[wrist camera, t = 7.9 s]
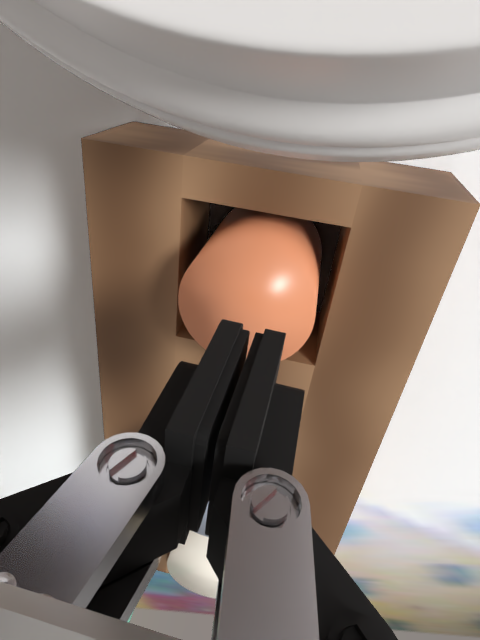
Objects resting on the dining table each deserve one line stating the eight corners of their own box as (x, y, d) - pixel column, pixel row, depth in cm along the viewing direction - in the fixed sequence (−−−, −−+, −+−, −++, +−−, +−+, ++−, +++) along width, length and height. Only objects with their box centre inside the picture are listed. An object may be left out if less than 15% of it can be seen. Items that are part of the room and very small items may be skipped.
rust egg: (333, 208, 16) (330, 259, 12) (309, 308, 19) (300, 378, 15) (219, 189, 17) (181, 231, 13) (210, 288, 19) (175, 351, 15)
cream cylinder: (269, 481, 25) (255, 563, 21) (259, 526, 27) (244, 607, 23) (195, 463, 25) (167, 539, 21) (191, 508, 28) (165, 585, 24)
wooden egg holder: (451, 172, 16) (480, 204, 12) (313, 546, 28) (310, 612, 25) (133, 121, 17) (81, 137, 14) (139, 501, 30) (113, 558, 26)
